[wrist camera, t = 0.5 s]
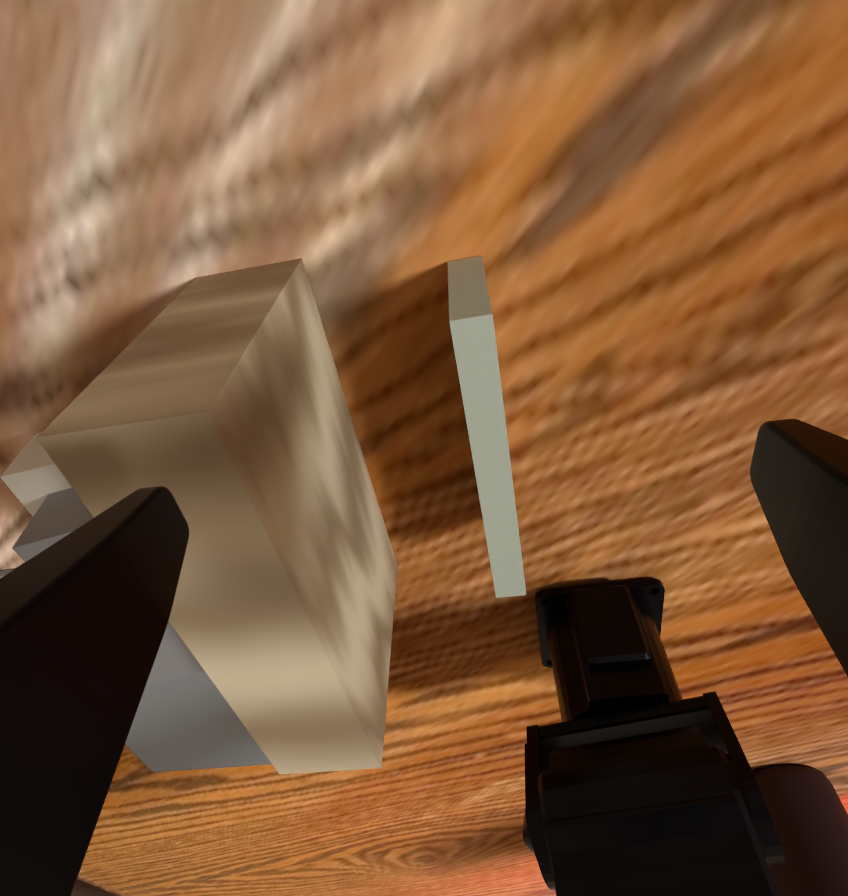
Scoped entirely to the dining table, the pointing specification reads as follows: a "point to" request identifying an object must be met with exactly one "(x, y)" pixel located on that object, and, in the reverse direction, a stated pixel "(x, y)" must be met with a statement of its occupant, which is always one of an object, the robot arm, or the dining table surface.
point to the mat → (189, 727)
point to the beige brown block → (254, 508)
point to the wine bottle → (806, 831)
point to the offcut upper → (61, 519)
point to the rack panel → (485, 419)
